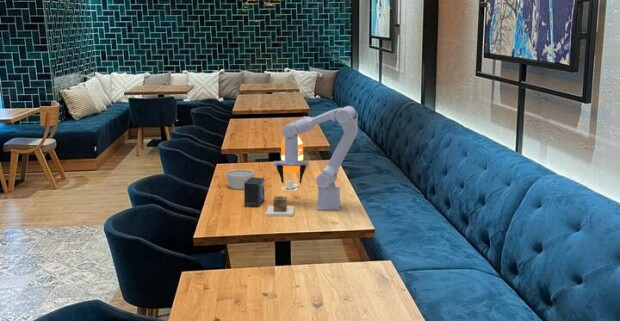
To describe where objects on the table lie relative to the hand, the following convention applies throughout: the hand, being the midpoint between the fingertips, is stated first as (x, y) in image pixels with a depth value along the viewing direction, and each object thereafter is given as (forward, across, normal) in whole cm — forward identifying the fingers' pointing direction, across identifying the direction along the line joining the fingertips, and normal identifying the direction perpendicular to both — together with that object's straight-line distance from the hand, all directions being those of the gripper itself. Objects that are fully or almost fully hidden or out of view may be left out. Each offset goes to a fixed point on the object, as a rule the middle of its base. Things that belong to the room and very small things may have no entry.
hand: (291, 182), depth 254 cm
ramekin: (+10, -26, +28) cm, 39 cm away
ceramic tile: (+9, -4, -12) cm, 16 cm away
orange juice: (+10, -3, +61) cm, 62 cm away
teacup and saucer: (+10, +1, +24) cm, 26 cm away
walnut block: (+8, -4, -12) cm, 15 cm away
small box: (+10, -16, 0) cm, 19 cm away
